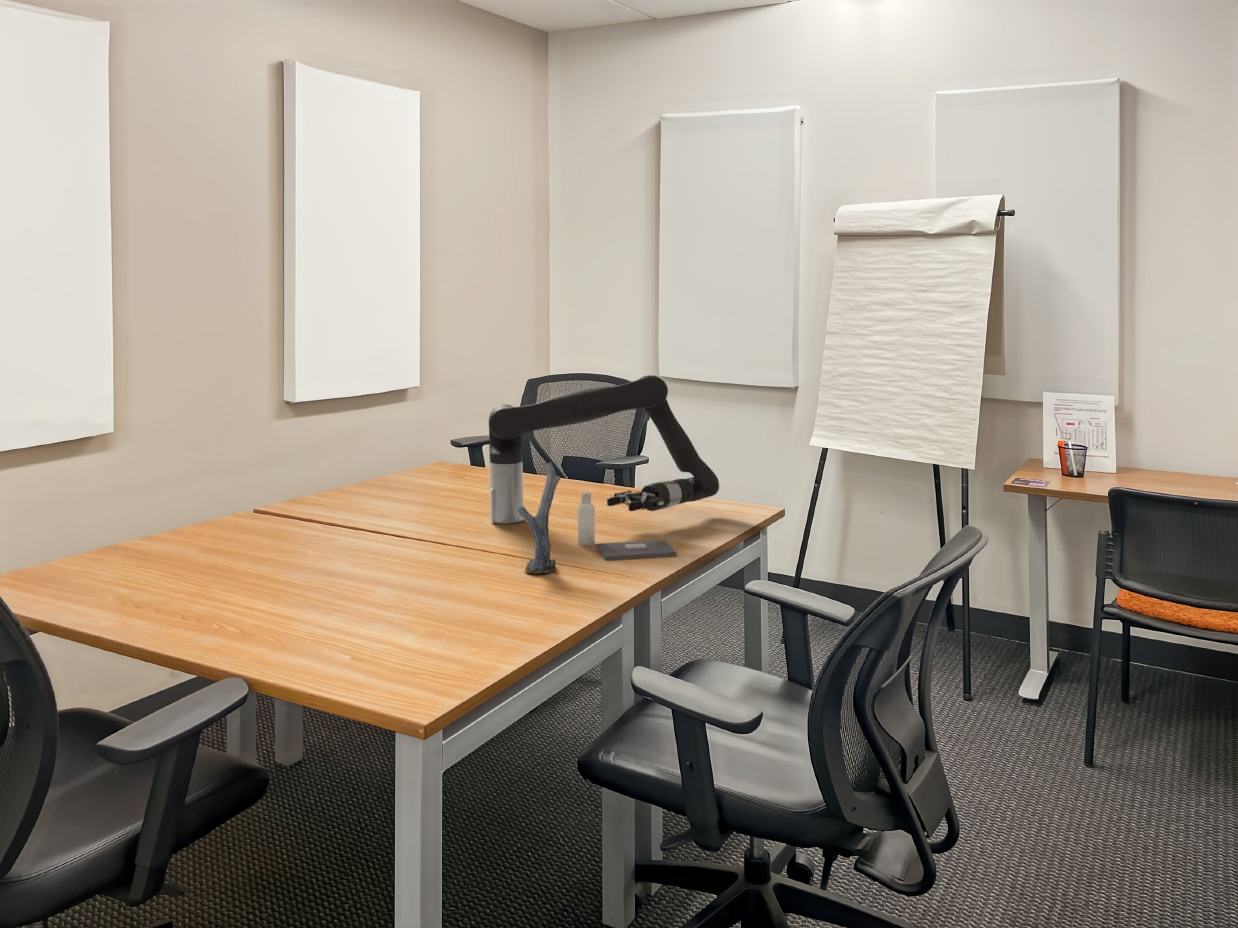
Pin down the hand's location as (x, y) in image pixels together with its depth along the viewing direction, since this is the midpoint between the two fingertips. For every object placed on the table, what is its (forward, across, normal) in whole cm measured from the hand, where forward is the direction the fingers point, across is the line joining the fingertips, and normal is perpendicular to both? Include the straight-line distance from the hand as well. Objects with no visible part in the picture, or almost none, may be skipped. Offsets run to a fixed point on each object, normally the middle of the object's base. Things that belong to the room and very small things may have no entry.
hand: (618, 504), depth 259 cm
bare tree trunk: (+34, +10, +9) cm, 36 cm away
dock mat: (+7, +14, +9) cm, 18 cm away
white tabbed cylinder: (+11, 0, +9) cm, 14 cm away
